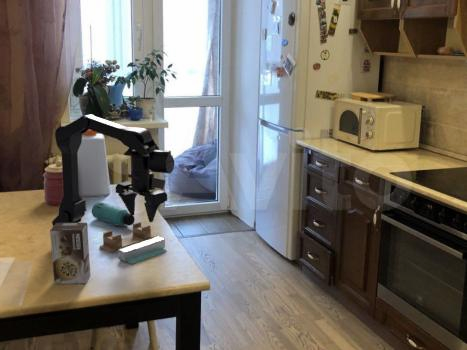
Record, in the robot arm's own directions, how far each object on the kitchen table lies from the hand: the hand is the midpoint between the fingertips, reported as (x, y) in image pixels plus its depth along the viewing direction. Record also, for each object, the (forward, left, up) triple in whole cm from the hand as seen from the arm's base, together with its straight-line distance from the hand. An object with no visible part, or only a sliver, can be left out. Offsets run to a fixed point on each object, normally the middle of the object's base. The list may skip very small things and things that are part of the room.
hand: (141, 218), depth 176 cm
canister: (+12, +68, -12) cm, 70 cm away
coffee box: (-26, 0, -12) cm, 28 cm away
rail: (0, 0, -11) cm, 11 cm away
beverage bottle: (+11, +41, -9) cm, 43 cm away
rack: (+2, +11, -12) cm, 16 cm away
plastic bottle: (+29, +71, -12) cm, 78 cm away
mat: (0, 0, -12) cm, 12 cm away
